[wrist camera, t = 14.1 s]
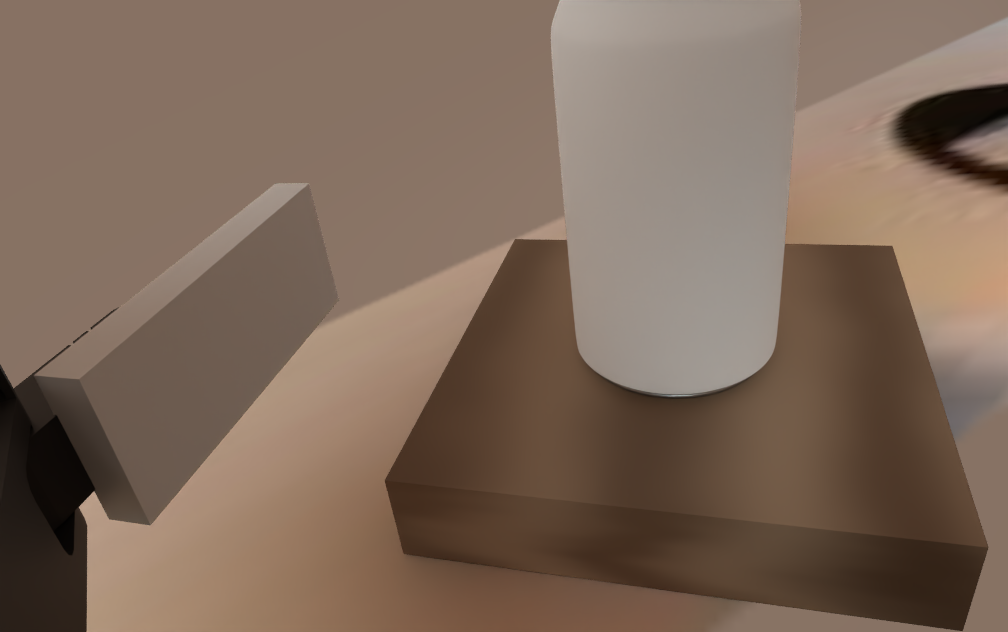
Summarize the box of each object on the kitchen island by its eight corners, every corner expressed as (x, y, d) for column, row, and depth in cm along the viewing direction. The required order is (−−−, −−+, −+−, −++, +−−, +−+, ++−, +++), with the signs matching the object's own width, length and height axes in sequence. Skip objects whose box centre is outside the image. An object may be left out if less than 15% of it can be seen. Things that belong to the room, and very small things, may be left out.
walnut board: (881, 312, 31) (892, 245, 30) (962, 631, 19) (988, 547, 18) (521, 298, 36) (515, 239, 34) (403, 553, 23) (384, 480, 22)
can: (599, 289, 30) (578, -58, 23) (780, 300, 27) (810, -78, 21) (553, 393, 24) (509, -15, 18) (770, 417, 22) (806, -35, 16)
